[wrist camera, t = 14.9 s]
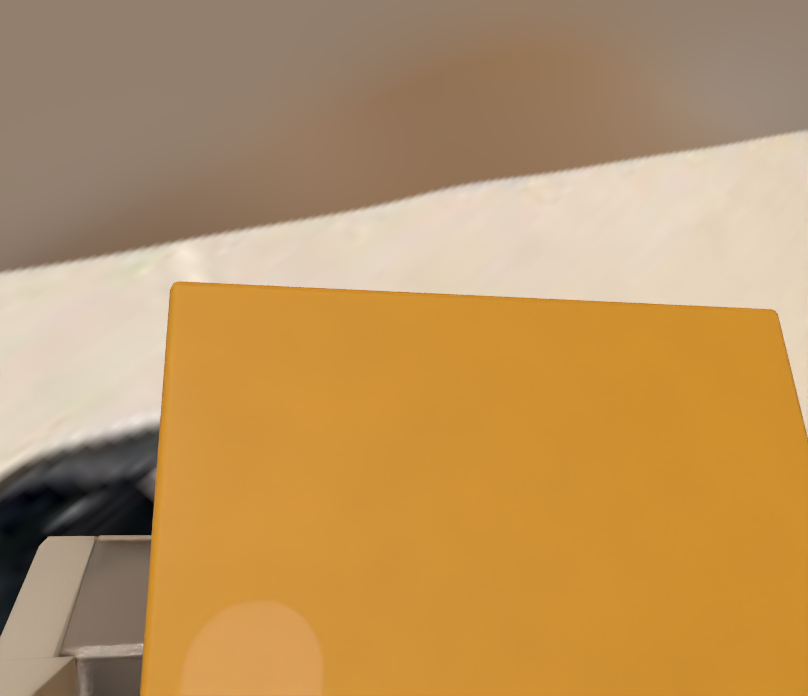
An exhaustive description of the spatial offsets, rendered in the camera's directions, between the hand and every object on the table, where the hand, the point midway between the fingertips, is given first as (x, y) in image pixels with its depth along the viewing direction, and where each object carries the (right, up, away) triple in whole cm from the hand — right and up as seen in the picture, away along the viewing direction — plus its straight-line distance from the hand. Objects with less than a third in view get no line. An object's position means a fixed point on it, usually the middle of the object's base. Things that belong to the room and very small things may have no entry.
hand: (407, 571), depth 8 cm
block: (-1, -2, +4) cm, 5 cm away
